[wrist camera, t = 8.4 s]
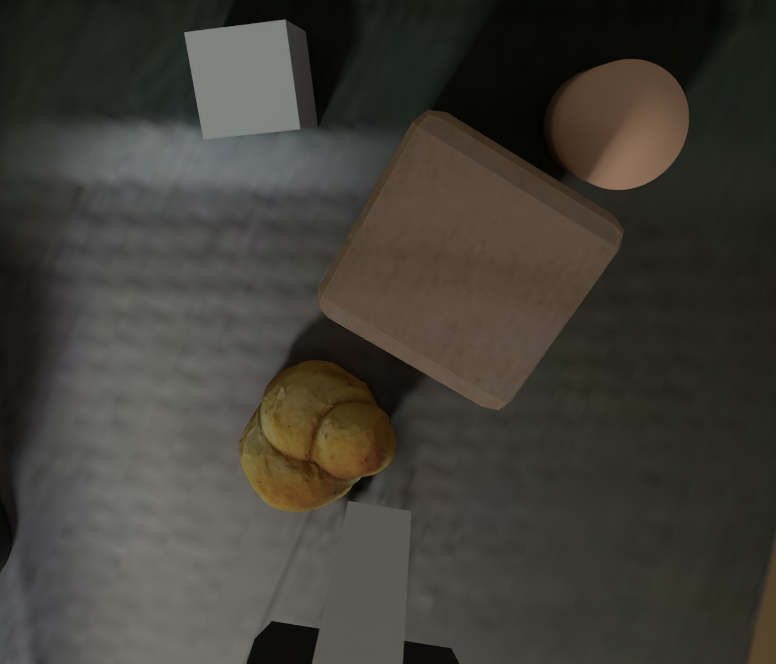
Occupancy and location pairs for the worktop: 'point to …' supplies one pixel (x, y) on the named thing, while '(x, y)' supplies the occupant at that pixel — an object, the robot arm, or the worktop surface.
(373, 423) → the bread roll
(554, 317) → the wooden block
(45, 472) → the worktop surface
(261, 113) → the grey plastic cube
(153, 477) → the worktop surface
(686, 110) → the peach round cylinder
